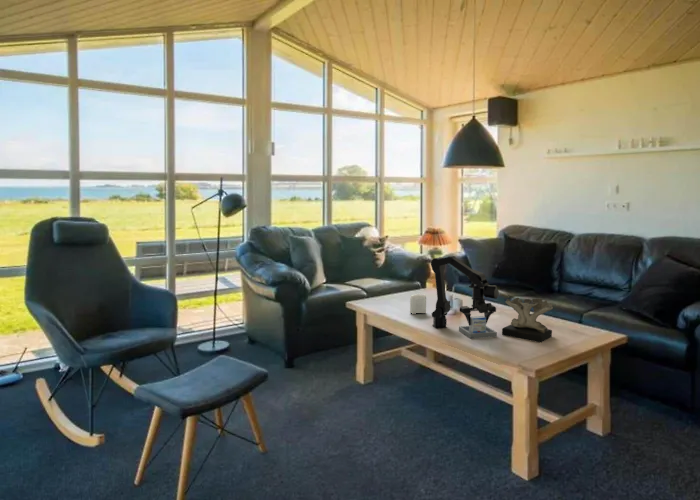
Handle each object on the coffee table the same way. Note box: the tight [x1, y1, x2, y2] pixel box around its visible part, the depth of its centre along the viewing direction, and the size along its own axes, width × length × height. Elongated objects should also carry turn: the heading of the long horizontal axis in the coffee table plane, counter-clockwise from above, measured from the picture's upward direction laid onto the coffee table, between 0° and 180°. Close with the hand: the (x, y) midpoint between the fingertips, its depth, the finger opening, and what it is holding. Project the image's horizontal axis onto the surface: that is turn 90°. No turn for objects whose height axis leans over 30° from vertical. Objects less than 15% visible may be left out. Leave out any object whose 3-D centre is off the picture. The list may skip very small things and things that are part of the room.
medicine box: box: [468, 315, 487, 333], centre depth 277 cm, size 8×4×9 cm, turn 104°
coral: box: [501, 297, 554, 343], centre depth 268 cm, size 25×20×21 cm
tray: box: [458, 325, 498, 340], centre depth 278 cm, size 15×15×2 cm
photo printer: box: [409, 293, 427, 315], centre depth 322 cm, size 10×4×12 cm, turn 98°
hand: (477, 324), depth 277 cm, fingers open, 9 cm apart
